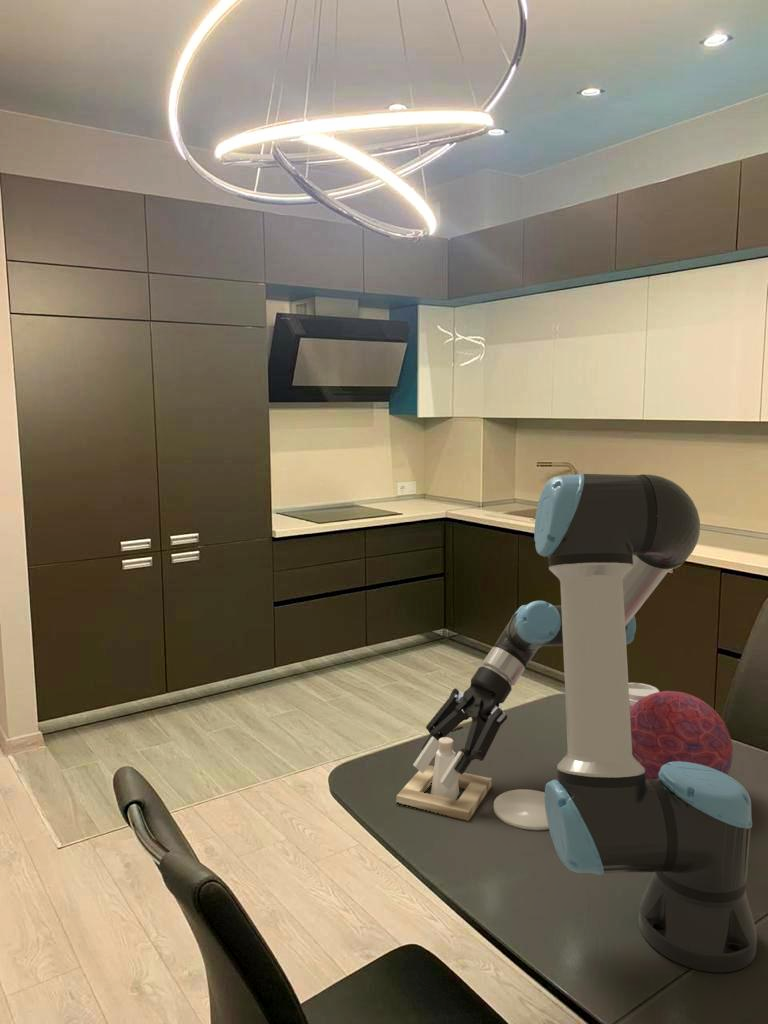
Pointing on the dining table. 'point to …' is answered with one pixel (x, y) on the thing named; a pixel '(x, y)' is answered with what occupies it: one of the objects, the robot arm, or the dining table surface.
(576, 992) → the dining table surface
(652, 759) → the decorative sphere
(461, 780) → the birch frame
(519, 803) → the white plate
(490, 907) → the dining table surface
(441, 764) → the pepper shaker
